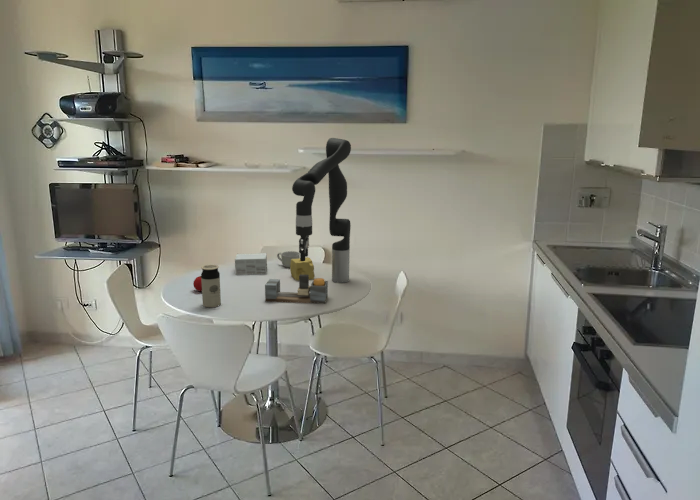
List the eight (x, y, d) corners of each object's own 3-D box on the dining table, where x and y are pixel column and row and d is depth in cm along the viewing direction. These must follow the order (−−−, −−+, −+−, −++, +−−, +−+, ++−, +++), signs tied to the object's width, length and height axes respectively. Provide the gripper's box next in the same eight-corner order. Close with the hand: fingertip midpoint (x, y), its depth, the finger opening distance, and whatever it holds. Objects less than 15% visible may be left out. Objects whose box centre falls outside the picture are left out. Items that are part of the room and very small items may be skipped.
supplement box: (267, 268, 297) (266, 252, 295) (266, 274, 284) (266, 258, 282) (237, 269, 295) (236, 253, 293) (235, 275, 282) (234, 258, 280)
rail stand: (269, 294, 250) (269, 279, 248) (327, 296, 248) (327, 280, 246) (265, 301, 240) (264, 285, 238) (325, 303, 238) (325, 287, 237)
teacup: (303, 265, 303) (303, 252, 301) (292, 270, 294) (291, 256, 292) (285, 262, 310) (284, 249, 308) (273, 266, 301) (272, 252, 299)
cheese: (314, 279, 277) (314, 261, 274) (295, 281, 273) (295, 263, 270) (308, 274, 286) (308, 256, 284) (290, 276, 282) (289, 258, 280)
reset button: (314, 286, 245) (314, 277, 244) (324, 286, 244) (325, 278, 244) (313, 289, 240) (313, 281, 239) (323, 290, 240) (323, 281, 239)
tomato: (216, 289, 256) (215, 274, 254) (202, 294, 249) (201, 278, 247) (203, 286, 261) (202, 271, 259) (189, 291, 253) (188, 275, 251)
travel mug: (202, 303, 237) (200, 265, 233) (219, 301, 240) (218, 263, 235) (203, 308, 230) (201, 269, 225) (221, 306, 232) (220, 268, 228)
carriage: (299, 290, 247) (299, 273, 245) (310, 290, 246) (310, 273, 244) (297, 294, 240) (297, 277, 238) (308, 295, 240) (308, 277, 238)
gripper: (298, 221, 243) (298, 254, 247) (293, 227, 229) (293, 262, 233) (314, 221, 242) (314, 255, 246) (309, 227, 228) (310, 263, 232)
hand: (304, 258), depth 239 cm, fingers open, 8 cm apart
